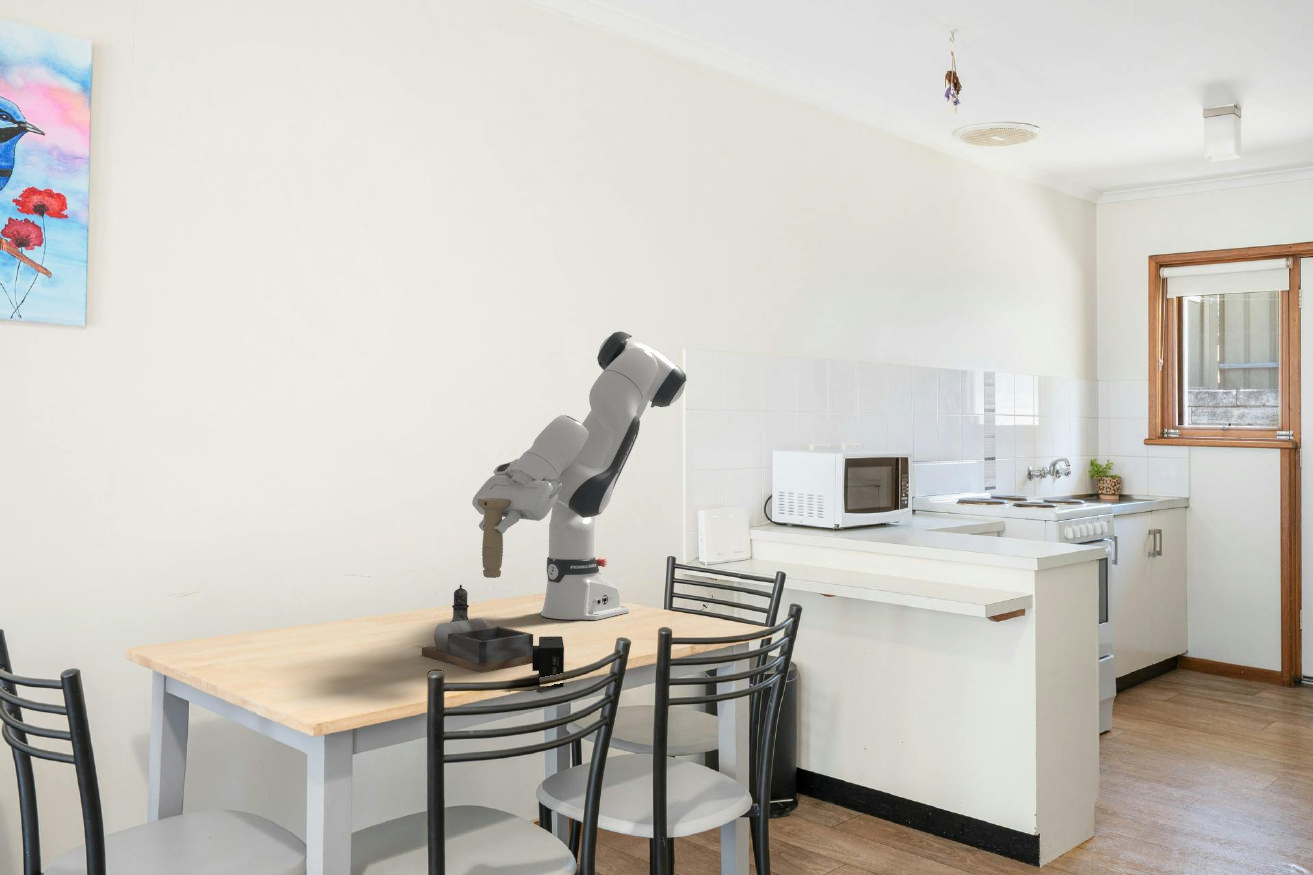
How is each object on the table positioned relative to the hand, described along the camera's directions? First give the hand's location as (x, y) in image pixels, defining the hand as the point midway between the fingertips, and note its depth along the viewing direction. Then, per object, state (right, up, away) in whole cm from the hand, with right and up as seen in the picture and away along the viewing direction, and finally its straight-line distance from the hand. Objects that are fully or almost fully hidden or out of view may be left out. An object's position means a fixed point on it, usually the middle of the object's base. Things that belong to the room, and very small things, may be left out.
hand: (490, 529), depth 195 cm
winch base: (-3, -26, +4) cm, 26 cm away
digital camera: (+12, -26, -13) cm, 31 cm away
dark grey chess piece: (-10, -26, +21) cm, 35 cm away
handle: (0, -9, 0) cm, 9 cm away
